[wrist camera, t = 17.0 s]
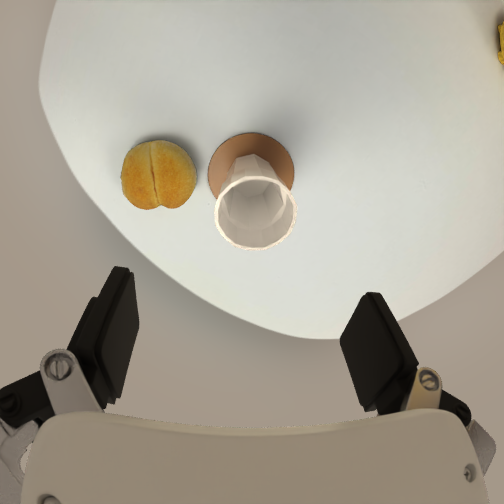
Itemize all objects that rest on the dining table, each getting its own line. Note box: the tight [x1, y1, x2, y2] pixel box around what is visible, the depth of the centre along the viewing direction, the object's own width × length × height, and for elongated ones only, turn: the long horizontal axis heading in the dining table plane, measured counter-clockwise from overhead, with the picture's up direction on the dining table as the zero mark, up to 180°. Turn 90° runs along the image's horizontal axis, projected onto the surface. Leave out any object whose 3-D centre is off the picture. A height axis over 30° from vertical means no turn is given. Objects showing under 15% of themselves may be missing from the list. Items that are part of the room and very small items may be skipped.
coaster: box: [208, 133, 294, 200], centre depth 32 cm, size 10×10×1 cm
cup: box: [214, 154, 297, 250], centre depth 27 cm, size 7×7×11 cm
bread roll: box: [121, 140, 197, 210], centre depth 29 cm, size 8×9×4 cm
